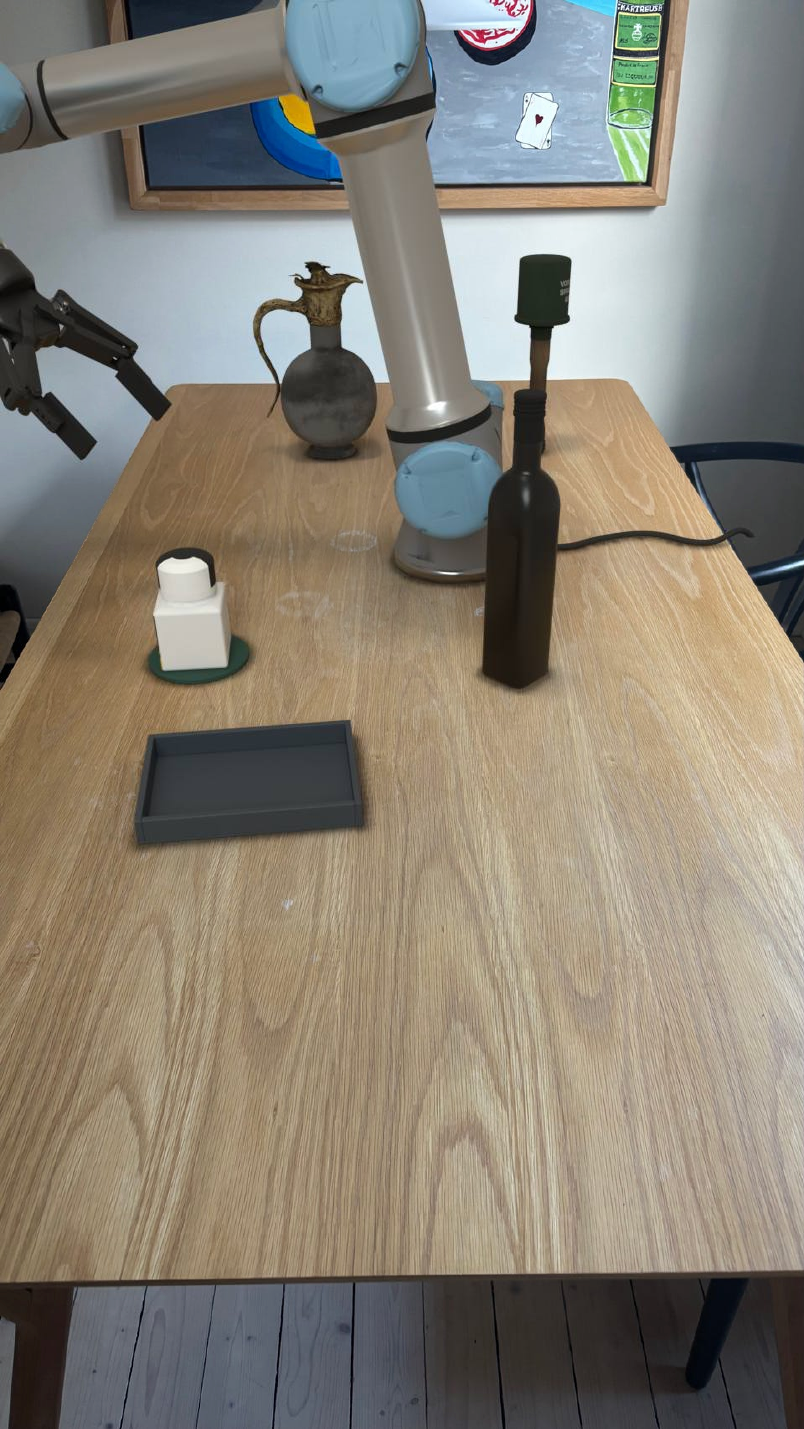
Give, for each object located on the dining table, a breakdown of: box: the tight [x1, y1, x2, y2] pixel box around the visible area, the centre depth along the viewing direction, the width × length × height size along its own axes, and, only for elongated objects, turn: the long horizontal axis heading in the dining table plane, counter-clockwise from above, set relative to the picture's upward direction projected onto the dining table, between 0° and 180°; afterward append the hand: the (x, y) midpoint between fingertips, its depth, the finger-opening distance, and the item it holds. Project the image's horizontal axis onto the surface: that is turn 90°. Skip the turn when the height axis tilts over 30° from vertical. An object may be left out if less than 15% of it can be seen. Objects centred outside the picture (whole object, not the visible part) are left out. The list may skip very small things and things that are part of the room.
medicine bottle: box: [152, 546, 232, 671], centre depth 110 cm, size 7×7×12 cm
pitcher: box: [252, 260, 378, 461], centre depth 163 cm, size 11×19×30 cm, turn 97°
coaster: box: [147, 634, 250, 685], centre depth 114 cm, size 11×11×1 cm
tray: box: [133, 719, 364, 845], centre depth 93 cm, size 19×13×2 cm
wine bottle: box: [481, 388, 562, 690], centre depth 102 cm, size 6×6×30 cm
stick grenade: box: [513, 253, 573, 455], centre depth 162 cm, size 8×9×30 cm
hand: (128, 431), depth 108 cm, fingers open, 13 cm apart
